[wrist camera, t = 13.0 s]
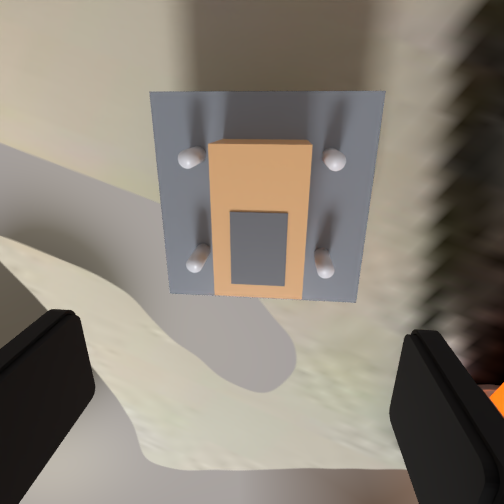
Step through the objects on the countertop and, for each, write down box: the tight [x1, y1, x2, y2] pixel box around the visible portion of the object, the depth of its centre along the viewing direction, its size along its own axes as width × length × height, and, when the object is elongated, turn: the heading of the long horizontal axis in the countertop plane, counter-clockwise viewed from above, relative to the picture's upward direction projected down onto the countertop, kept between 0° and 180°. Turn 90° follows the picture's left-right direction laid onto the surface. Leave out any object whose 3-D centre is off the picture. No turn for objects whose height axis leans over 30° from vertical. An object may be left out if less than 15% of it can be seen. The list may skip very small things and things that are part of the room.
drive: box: [208, 139, 313, 300], centre depth 23 cm, size 10×6×5 cm, turn 0°
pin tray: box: [150, 91, 386, 303], centre depth 24 cm, size 16×16×4 cm
